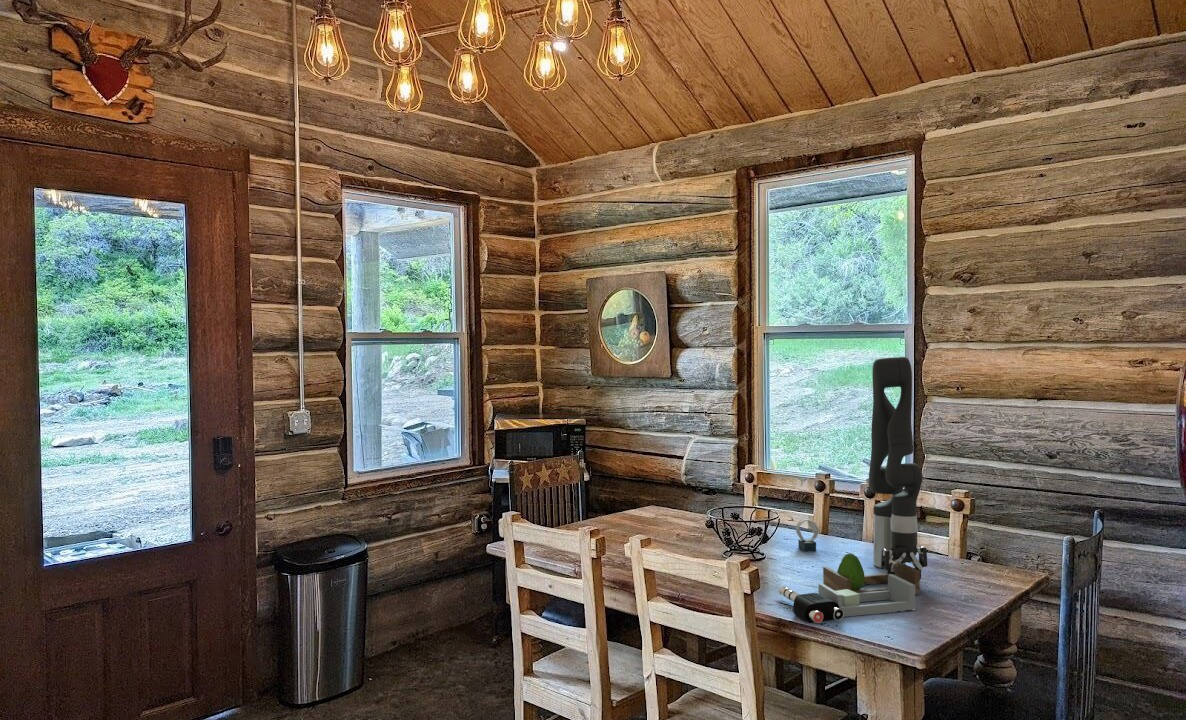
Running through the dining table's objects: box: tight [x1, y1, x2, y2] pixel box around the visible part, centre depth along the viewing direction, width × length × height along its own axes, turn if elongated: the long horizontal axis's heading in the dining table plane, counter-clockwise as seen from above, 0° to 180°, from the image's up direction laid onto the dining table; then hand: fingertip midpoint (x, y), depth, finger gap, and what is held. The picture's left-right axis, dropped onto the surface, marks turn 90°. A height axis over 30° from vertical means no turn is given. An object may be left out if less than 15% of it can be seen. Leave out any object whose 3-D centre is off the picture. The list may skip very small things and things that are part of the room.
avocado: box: [836, 552, 865, 591], centre depth 242 cm, size 8×8×12 cm
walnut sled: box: [822, 559, 921, 595], centre depth 244 cm, size 24×14×7 cm, turn 102°
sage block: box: [836, 589, 861, 607], centre depth 228 cm, size 5×5×5 cm
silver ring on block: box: [795, 518, 820, 553], centre depth 293 cm, size 6×8×11 cm
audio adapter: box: [778, 585, 844, 624], centre depth 228 cm, size 11×5×25 cm
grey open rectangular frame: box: [818, 574, 916, 618], centre depth 229 cm, size 24×11×7 cm, turn 102°
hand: (904, 582), depth 247 cm, fingers open, 8 cm apart
